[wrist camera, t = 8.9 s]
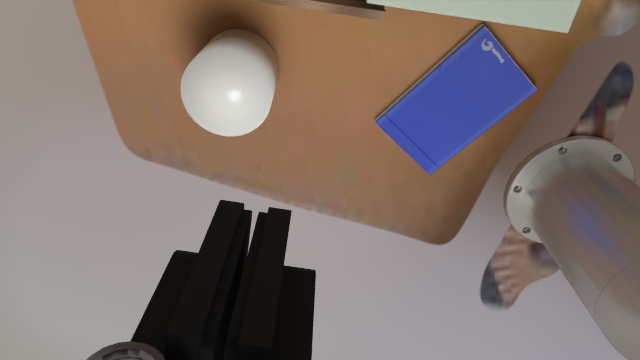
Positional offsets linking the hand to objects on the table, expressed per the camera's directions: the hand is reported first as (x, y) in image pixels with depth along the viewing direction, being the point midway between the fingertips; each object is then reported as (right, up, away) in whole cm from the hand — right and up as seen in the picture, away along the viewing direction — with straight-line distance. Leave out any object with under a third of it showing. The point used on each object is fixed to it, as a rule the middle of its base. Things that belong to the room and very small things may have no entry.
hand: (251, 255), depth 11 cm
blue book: (+14, +9, +33) cm, 37 cm away
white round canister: (-6, +12, +30) cm, 33 cm away
